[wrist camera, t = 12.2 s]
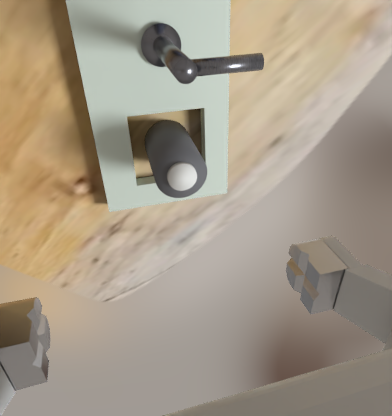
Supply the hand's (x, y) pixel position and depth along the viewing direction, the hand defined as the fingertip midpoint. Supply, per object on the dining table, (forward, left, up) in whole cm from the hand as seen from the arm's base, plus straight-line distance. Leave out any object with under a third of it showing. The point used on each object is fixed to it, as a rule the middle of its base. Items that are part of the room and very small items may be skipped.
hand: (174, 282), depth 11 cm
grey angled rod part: (+5, +3, -23) cm, 24 cm away
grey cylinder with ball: (+3, -6, -24) cm, 25 cm away
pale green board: (+3, -2, -24) cm, 24 cm away
